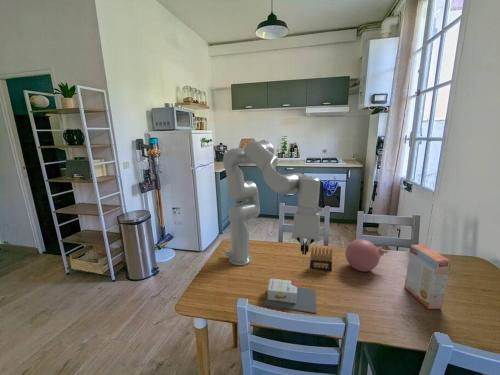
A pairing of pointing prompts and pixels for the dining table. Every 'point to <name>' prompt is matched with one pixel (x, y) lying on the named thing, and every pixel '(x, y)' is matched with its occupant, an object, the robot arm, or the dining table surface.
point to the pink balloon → (363, 255)
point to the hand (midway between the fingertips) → (304, 253)
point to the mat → (304, 301)
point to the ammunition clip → (321, 260)
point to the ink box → (282, 290)
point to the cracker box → (427, 276)
